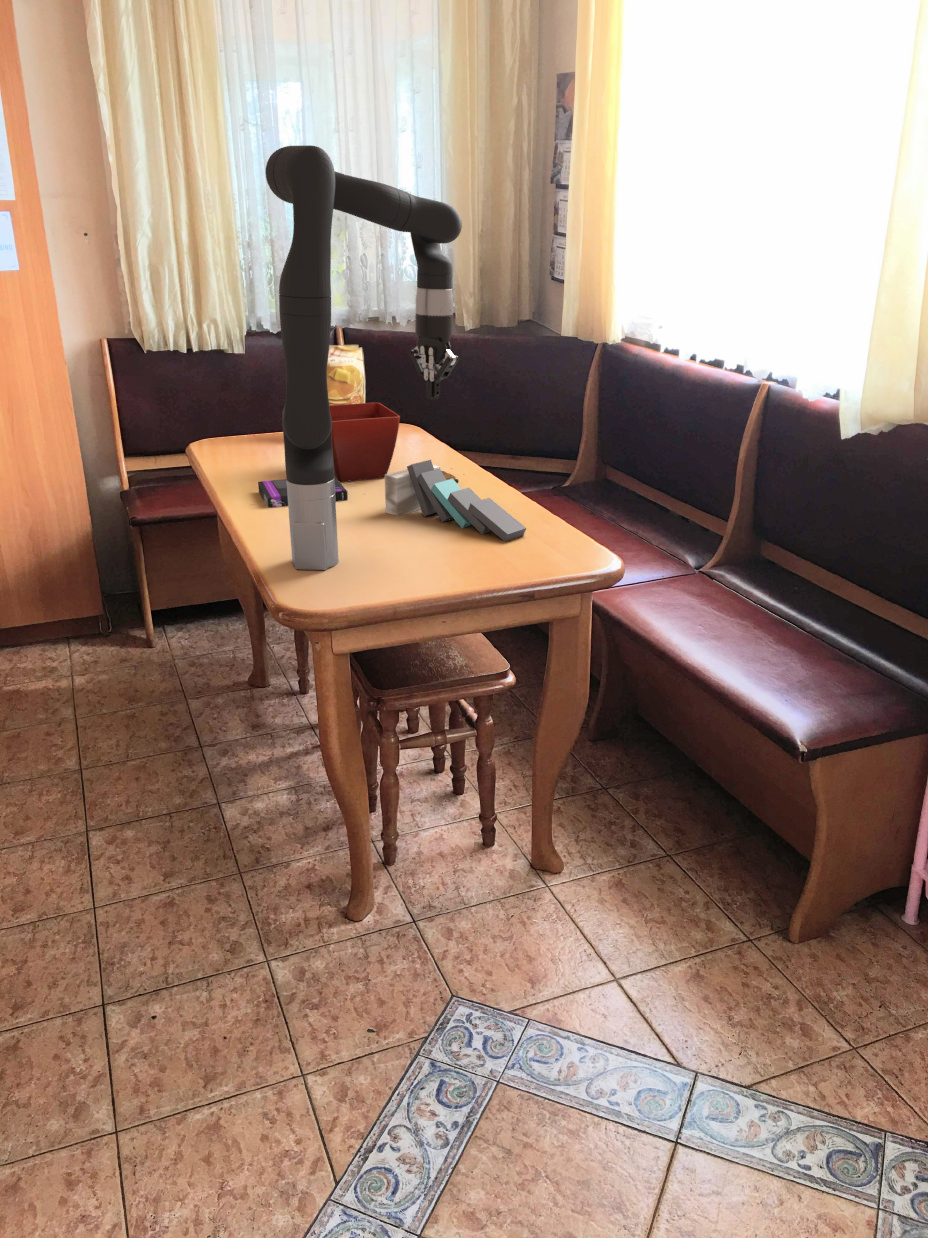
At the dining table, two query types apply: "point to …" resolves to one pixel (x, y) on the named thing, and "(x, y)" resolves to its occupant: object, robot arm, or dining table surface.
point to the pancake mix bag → (345, 375)
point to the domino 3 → (442, 493)
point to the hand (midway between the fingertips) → (432, 398)
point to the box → (278, 497)
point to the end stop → (400, 493)
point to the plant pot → (363, 440)
